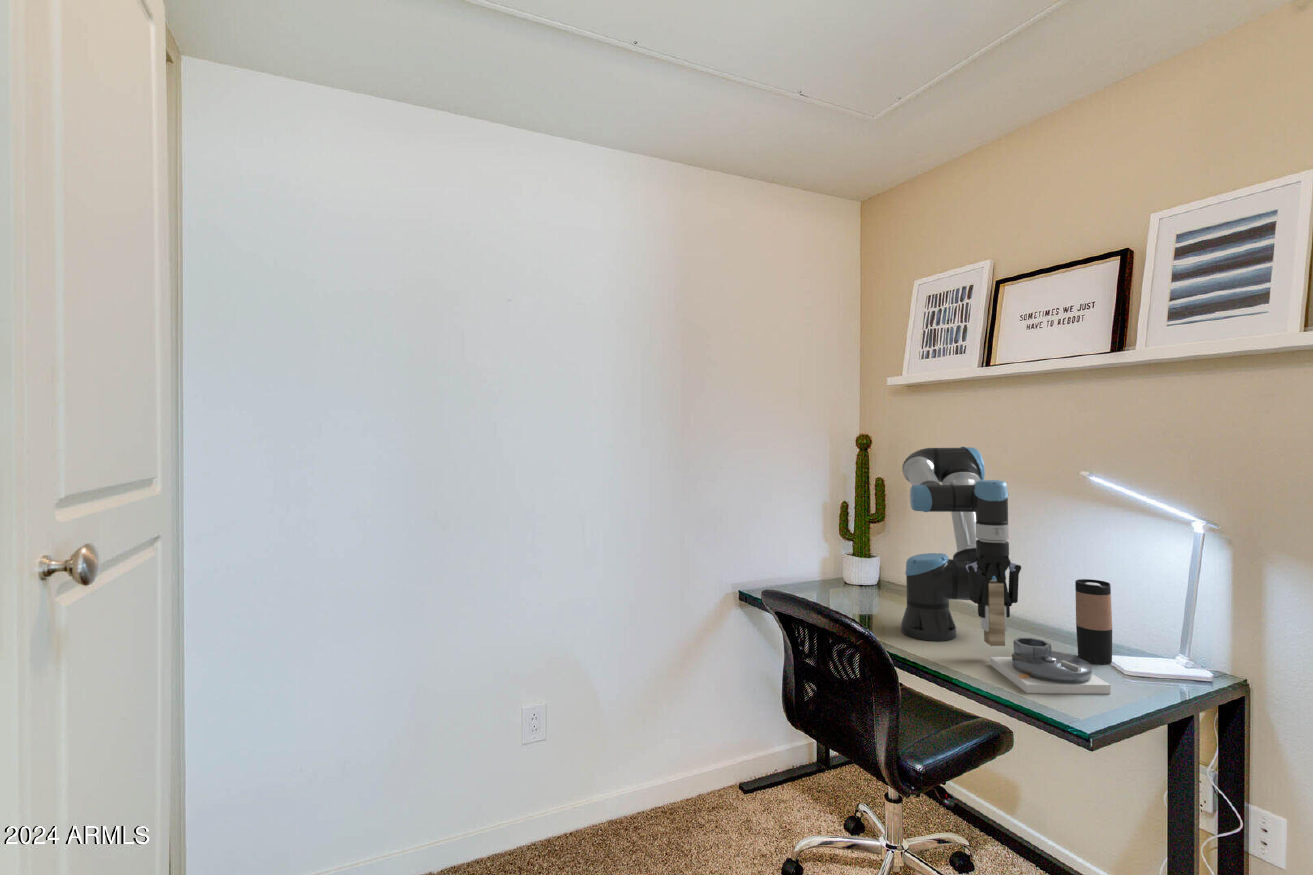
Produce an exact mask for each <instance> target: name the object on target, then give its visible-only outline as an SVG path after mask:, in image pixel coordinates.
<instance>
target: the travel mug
mask: <svg viewBox="0 0 1313 875" xmlns="http://www.w3.org/2000/svg"><path fill="white" fill-rule="evenodd" d="M1074 583H1075V585H1074V586H1075V588H1074V589H1075V624H1076V625H1075V626H1076V627H1075V628H1076V644H1077V657H1079V658H1081V659H1083V660H1085V661H1087V662H1088V663H1090V664H1095V665H1110V664H1112V663H1113V614H1112V612H1113V610H1112V609H1113V608H1112V589H1111V587H1112V586H1111V583H1110V582H1107V581H1104V580H1098V579H1091V578H1090V579H1089V578H1083V579H1082V578H1081V579H1075V582H1074Z"/></svg>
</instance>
